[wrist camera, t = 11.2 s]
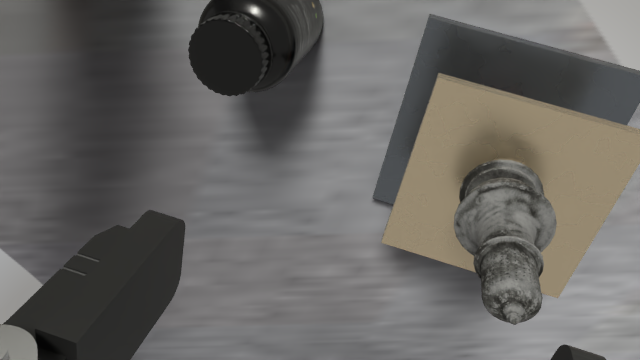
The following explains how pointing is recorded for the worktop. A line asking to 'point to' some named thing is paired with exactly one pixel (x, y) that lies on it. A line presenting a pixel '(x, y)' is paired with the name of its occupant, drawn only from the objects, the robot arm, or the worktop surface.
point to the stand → (508, 139)
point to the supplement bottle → (252, 42)
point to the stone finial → (506, 235)
